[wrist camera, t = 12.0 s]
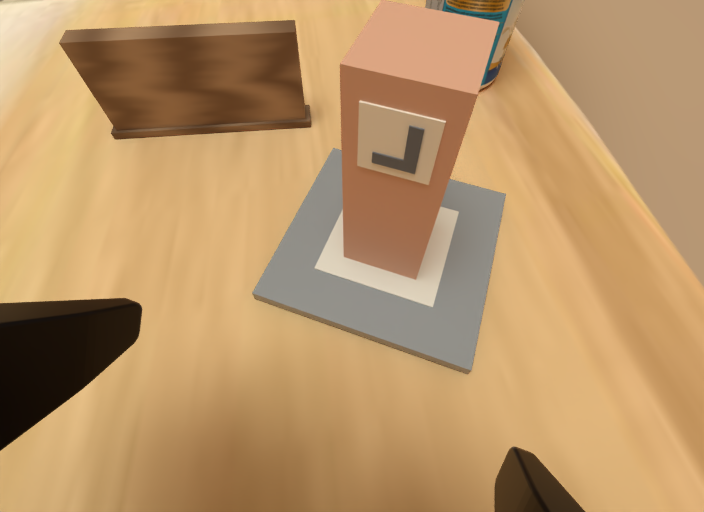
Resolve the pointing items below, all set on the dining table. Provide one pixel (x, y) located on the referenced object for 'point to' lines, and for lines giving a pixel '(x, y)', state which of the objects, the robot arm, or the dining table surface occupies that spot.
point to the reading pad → (390, 274)
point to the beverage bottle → (492, 4)
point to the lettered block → (405, 126)
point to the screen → (192, 77)
